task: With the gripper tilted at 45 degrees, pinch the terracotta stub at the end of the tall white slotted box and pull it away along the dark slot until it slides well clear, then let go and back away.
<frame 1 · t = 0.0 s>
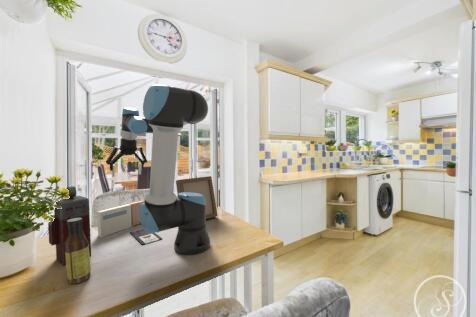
hand: (126, 174, 121), 28 cm above the table, tool tilted 20°, fingers open, 13 cm apart
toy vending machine: (70, 259, 84), on the table
sauce bottle: (78, 279, 71), on the table
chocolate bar: (145, 237, 106), on the table
photo frame: (195, 219, 131), on the table
white slotted box: (123, 228, 116), on the table
stub: (137, 212, 123), point 6 cm above the table, slide at 0.0 cm
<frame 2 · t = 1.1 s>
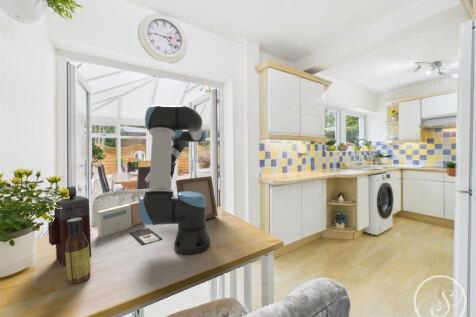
hand: (153, 182, 132), 22 cm above the table, tool tilted 45°, fingers open, 13 cm apart
nothing on the table moved.
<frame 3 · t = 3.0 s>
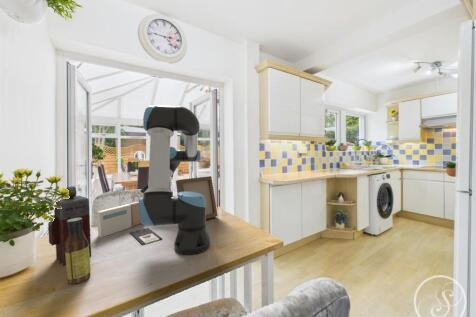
hand: (144, 204, 128), 10 cm above the table, tool tilted 45°, fingers open, 13 cm apart
nothing on the table moved.
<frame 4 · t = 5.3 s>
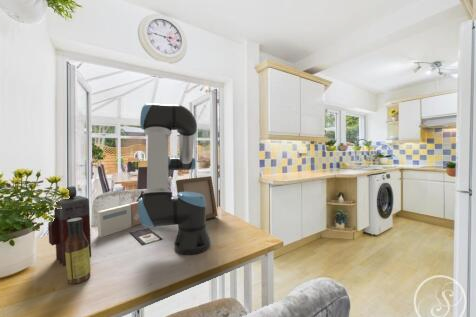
hand: (132, 218, 121), 4 cm above the table, tool tilted 45°, fingers closed on stub, 3 cm apart
stub: (137, 212, 123), point 6 cm above the table, slide at 0.0 cm, touching gripper
everything else where it was.
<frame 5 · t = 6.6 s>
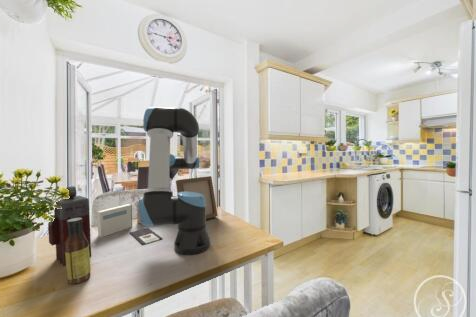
hand: (140, 216, 125), 4 cm above the table, tool tilted 45°, fingers closed on stub, 3 cm apart
stub: (145, 210, 127), point 6 cm above the table, slide at 5.0 cm, touching gripper
everything else where it was.
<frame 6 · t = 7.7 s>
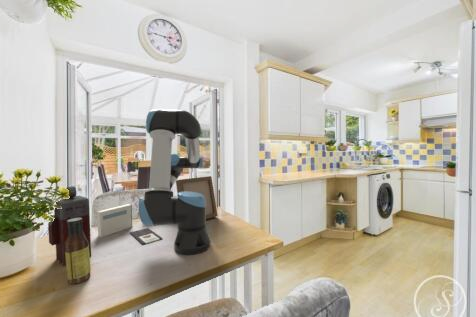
hand: (146, 214, 128), 4 cm above the table, tool tilted 45°, fingers open, 3 cm apart
stub: (150, 208, 131), point 6 cm above the table, slide at 9.0 cm
everything else where it was.
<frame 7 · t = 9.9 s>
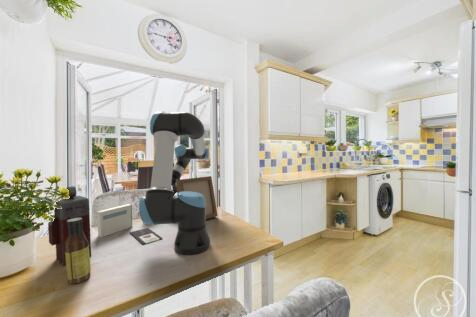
hand: (160, 200, 136), 10 cm above the table, tool tilted 45°, fingers open, 13 cm apart
nothing on the table moved.
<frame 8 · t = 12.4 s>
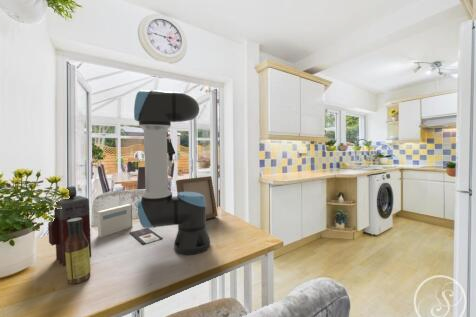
hand: (162, 165, 133), 32 cm above the table, tool pointing down, fingers open, 13 cm apart
nothing on the table moved.
at the end: stub slide at 9.0 cm; the gripper is holding nothing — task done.
